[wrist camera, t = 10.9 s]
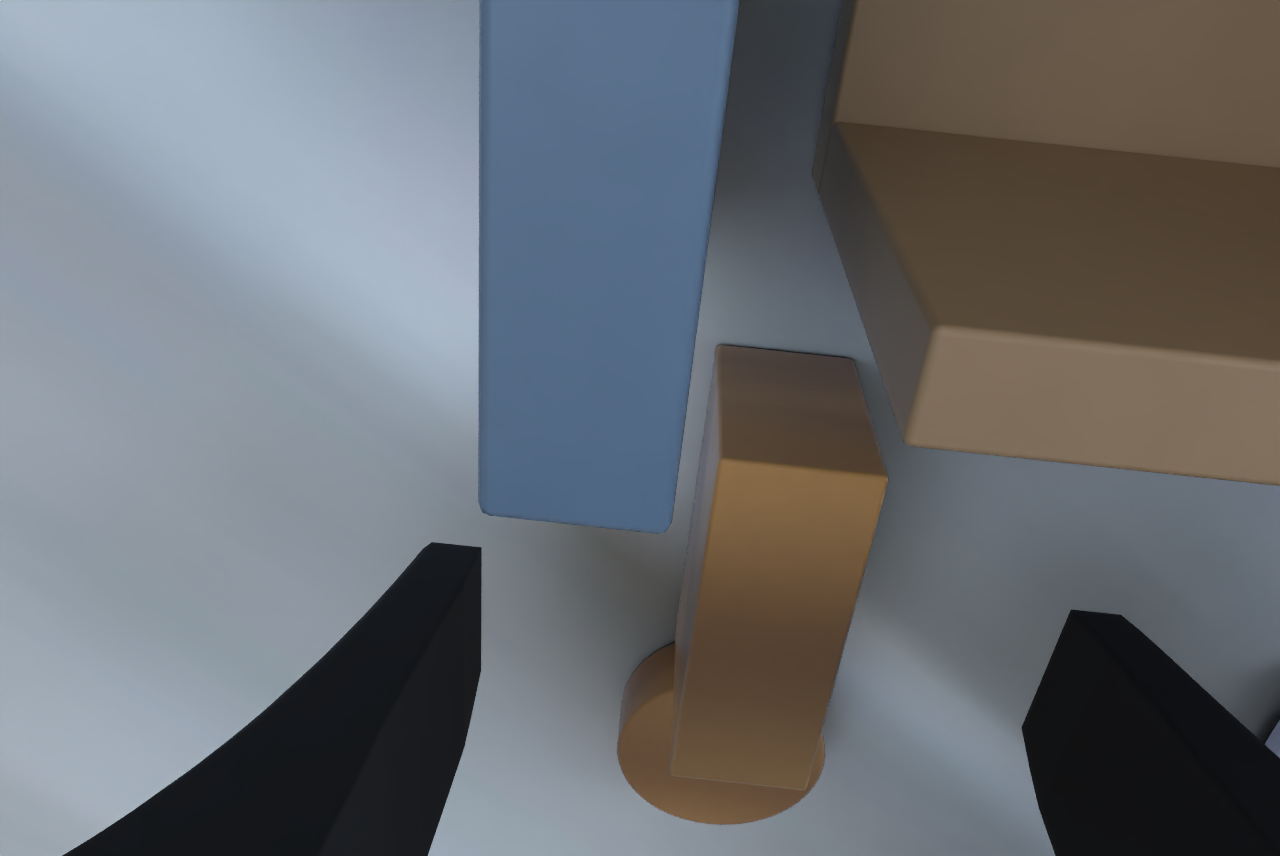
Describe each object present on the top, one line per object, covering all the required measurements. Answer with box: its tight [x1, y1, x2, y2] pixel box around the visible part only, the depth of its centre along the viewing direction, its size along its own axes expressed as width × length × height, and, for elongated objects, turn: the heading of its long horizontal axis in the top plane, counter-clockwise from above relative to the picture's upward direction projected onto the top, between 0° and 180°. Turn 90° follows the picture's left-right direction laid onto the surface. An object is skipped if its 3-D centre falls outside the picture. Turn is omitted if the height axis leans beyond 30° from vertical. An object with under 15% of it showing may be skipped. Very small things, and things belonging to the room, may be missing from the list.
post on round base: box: [617, 345, 889, 825], centre depth 14 cm, size 9×3×3 cm, turn 175°
